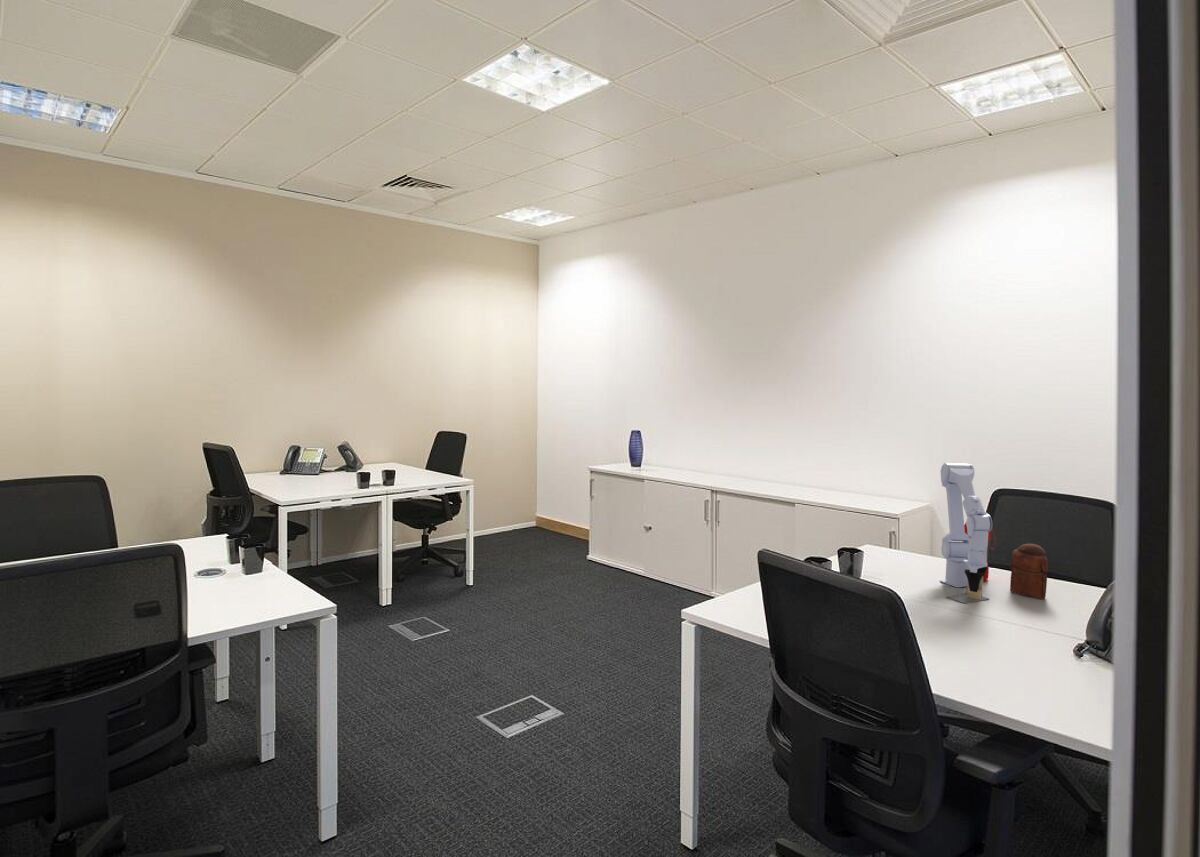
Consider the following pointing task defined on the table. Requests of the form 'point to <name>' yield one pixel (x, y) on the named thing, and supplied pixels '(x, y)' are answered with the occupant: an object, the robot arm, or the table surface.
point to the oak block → (976, 594)
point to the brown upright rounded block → (1029, 571)
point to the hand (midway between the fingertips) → (975, 588)
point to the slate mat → (965, 598)
